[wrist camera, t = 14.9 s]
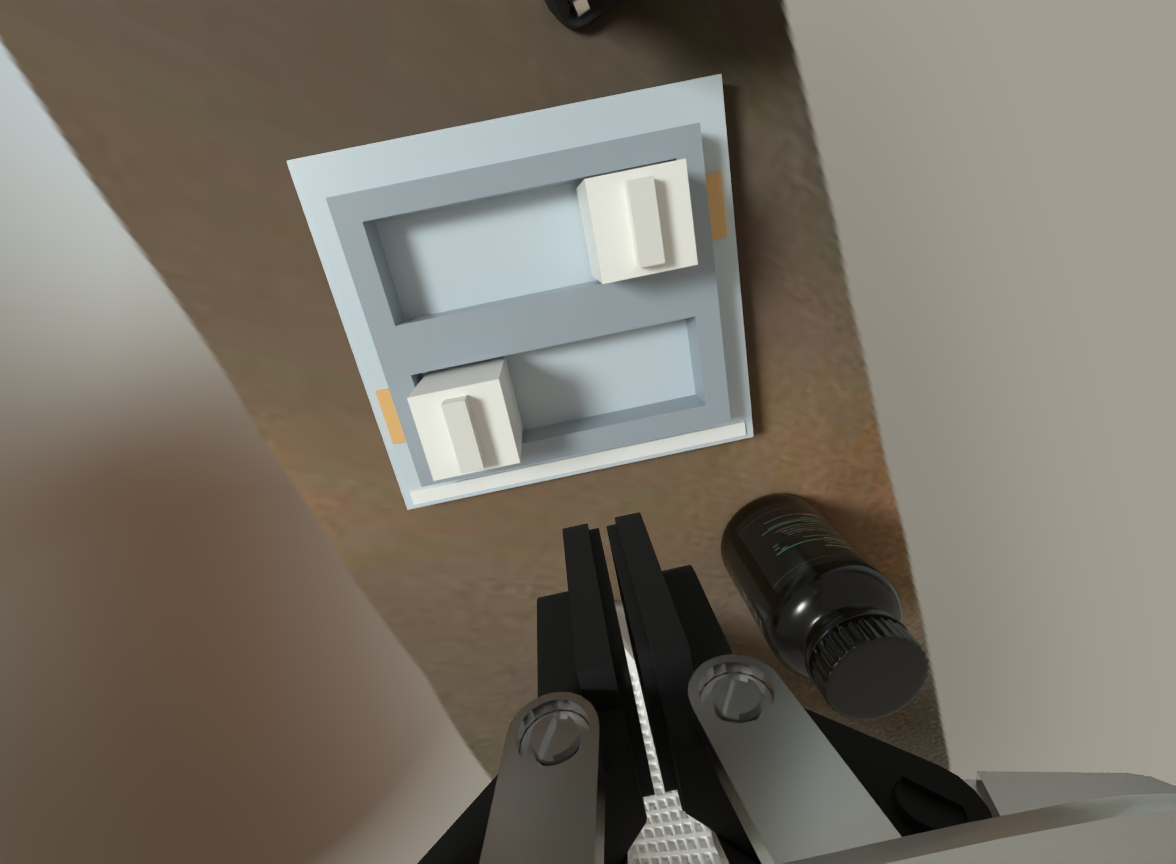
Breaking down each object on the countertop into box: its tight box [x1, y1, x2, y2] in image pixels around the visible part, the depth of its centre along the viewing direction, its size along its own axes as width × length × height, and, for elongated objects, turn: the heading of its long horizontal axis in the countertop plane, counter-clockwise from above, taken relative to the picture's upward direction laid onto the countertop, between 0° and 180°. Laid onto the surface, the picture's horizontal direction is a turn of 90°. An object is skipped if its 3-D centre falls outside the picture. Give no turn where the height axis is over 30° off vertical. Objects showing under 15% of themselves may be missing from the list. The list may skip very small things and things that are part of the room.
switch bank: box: [286, 74, 754, 510], centre depth 28 cm, size 18×20×4 cm
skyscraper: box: [614, 601, 722, 864], centre depth 24 cm, size 8×8×28 cm
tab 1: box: [407, 356, 523, 481], centre depth 26 cm, size 4×4×6 cm
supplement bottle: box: [721, 494, 929, 720], centre depth 30 cm, size 7×7×12 cm
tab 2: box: [576, 158, 698, 284], centre depth 24 cm, size 4×4×6 cm
